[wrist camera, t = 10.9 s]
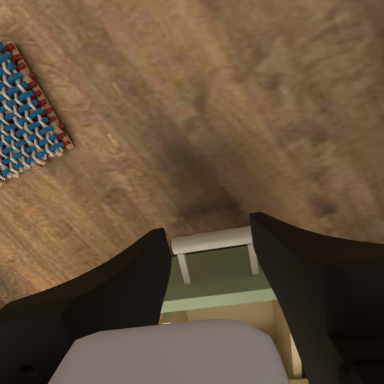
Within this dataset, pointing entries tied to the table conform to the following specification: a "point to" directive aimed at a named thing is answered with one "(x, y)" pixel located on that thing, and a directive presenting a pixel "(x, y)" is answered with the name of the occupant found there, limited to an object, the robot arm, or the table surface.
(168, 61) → the table surface
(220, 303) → the drawer
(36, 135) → the woven mat
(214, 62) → the table surface
